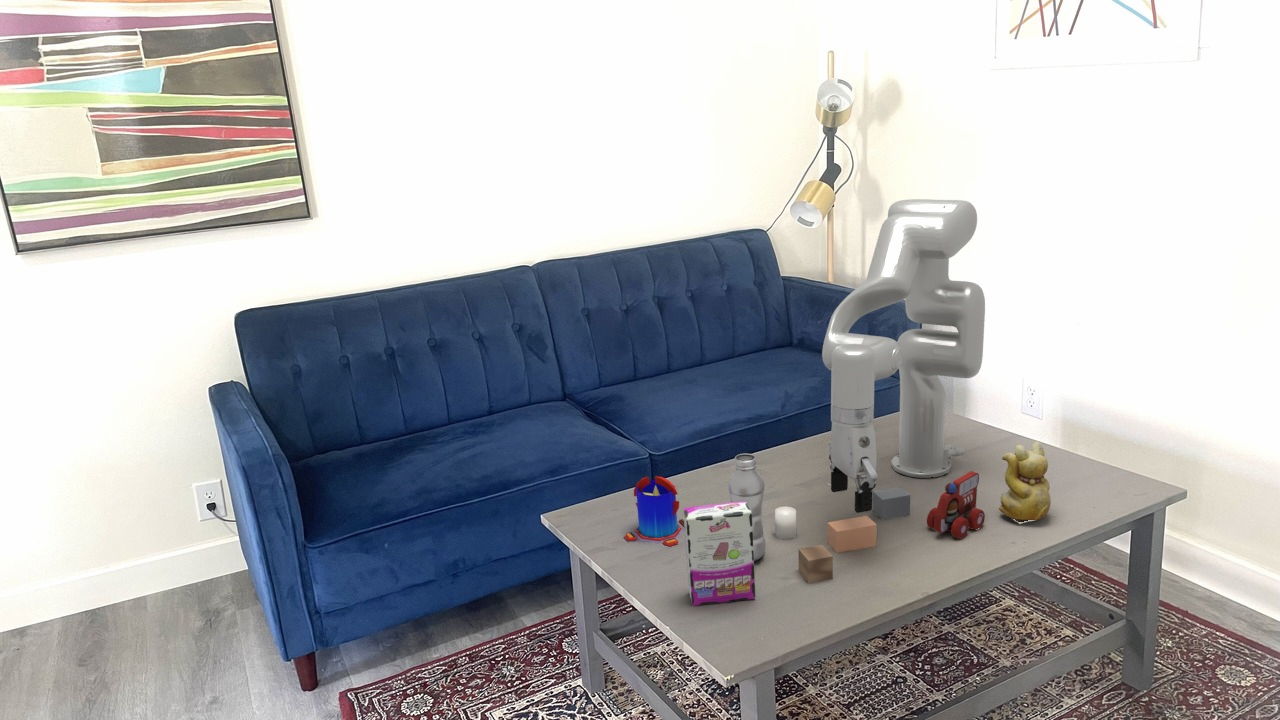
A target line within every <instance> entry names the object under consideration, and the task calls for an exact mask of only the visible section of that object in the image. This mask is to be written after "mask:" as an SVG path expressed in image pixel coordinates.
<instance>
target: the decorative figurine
mask: <svg viewBox="0 0 1280 720" xmlns="http://www.w3.org/2000/svg"><path fill="white" fill-rule="evenodd" d="M1001 460H1003V461H1006V463H1007V469H1006V471H1005V475H1004V480H1005V484H1006V485H1007V487H1008V488H1009V489H1008V491H1004V492H1003V493H1002V494H1001V496H1000V504H1001V505H999V506H998V510H999V511H1000V512H1001V513H1002V514H1004V515H1005V516H1007V517H1009V518H1010V517H1011V518H1010V519H1012V518H1013V519H1015V520H1016V521H1018V522H1024V521H1028V520H1038V521H1041V518H1044V517H1046V516H1047V514H1048V513H1049V511H1050V508H1051V503H1052V502H1051V494H1050V492H1049V491H1050V482H1049V481H1048V479H1047V478H1046V477H1045V475H1046V473H1047V471H1048V468H1049V462H1048V460H1047V457H1045V449H1044V448H1043V446H1042V443H1040V442H1039V441H1034V442H1033V443H1032V446H1031V449H1030V450H1028V449H1027V448H1026V447H1025V446H1023V445H1022V444H1016V445H1015V449H1014V452H1006V453H1004V454H1003V455H1002V456H1001Z"/></svg>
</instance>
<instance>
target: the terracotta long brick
mask: <svg viewBox="0 0 1280 720" xmlns="http://www.w3.org/2000/svg"><path fill="white" fill-rule="evenodd" d="M877 527H878V526H877V524H876V522H874V521H873V520H872V519H871V517H869V516H868V515H862V516H857V517H851V518H850V517H849V518H845V519H840V520H834V521H829V522H827V545H829V546H830V547H831V548H832V549H833V551H834V552H835V553H836V554H839V553H844V552H849V551H854V550H861V549H864V548H866V549H867V548H870V547H871V548H872V547H875V546H877V532H878V531H877Z"/></svg>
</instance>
